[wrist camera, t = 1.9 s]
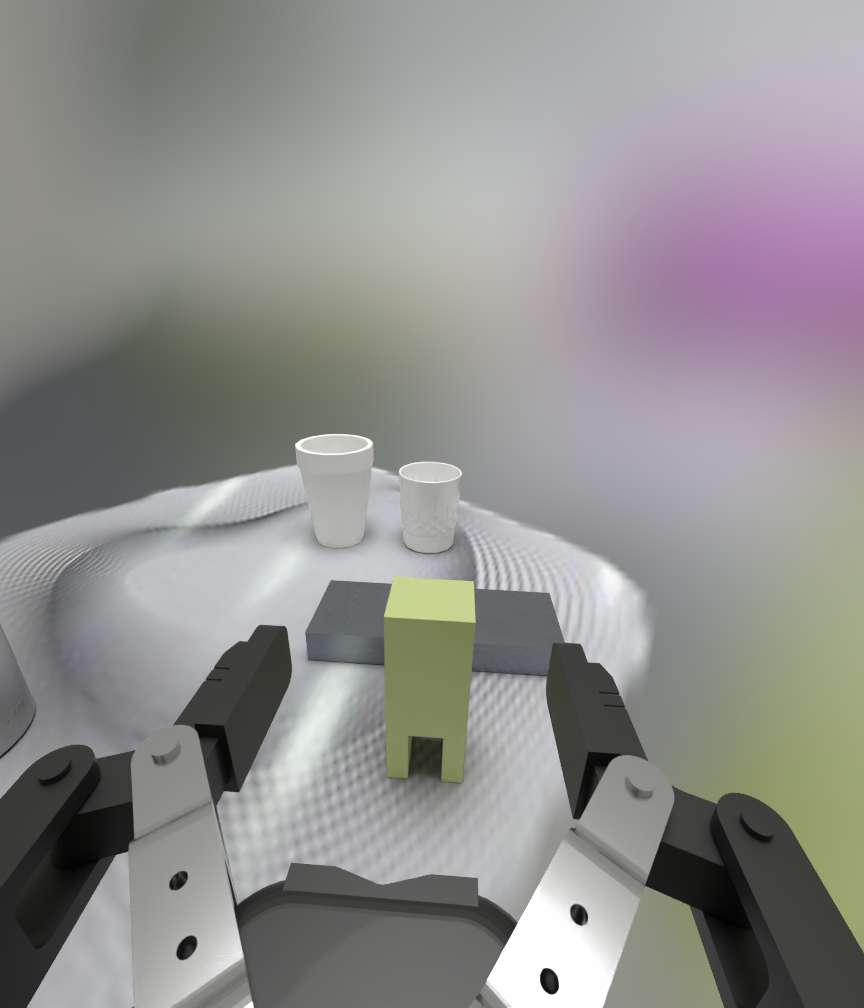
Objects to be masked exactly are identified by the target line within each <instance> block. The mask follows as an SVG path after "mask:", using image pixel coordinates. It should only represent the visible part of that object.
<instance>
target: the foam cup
mask: <svg viewBox="0 0 864 1008" xmlns="http://www.w3.org/2000/svg"><path fill="white" fill-rule="evenodd" d="M295 448H296V459H297V464H298V467H299V468H300V471H301V475H302V480H303V484H304V488H305V492H306V497H307V501H308V505H309V509H310V513H311V518H312V522H313V526H314V530H315V534H316V538H317V541H318V543H319V544H321V545H323V546H325V547H331V548H345V547H349V546H353V545H356V544H357V543H359V542H360V541H362V539H363V537H364V532H365V523H366V514H367V504H368V495H369V485H370V476H371V467H372V463H373V461H374V459H373V458H374V455H373V443H372V442H371V440H370V439H367V438H364V437H361V436H356V435H346V434H332V435H329V434H328V435H320V436H313V437H309V438H306V439H302V440H300V441H299V442H298V443H296V444H295Z"/></svg>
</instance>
